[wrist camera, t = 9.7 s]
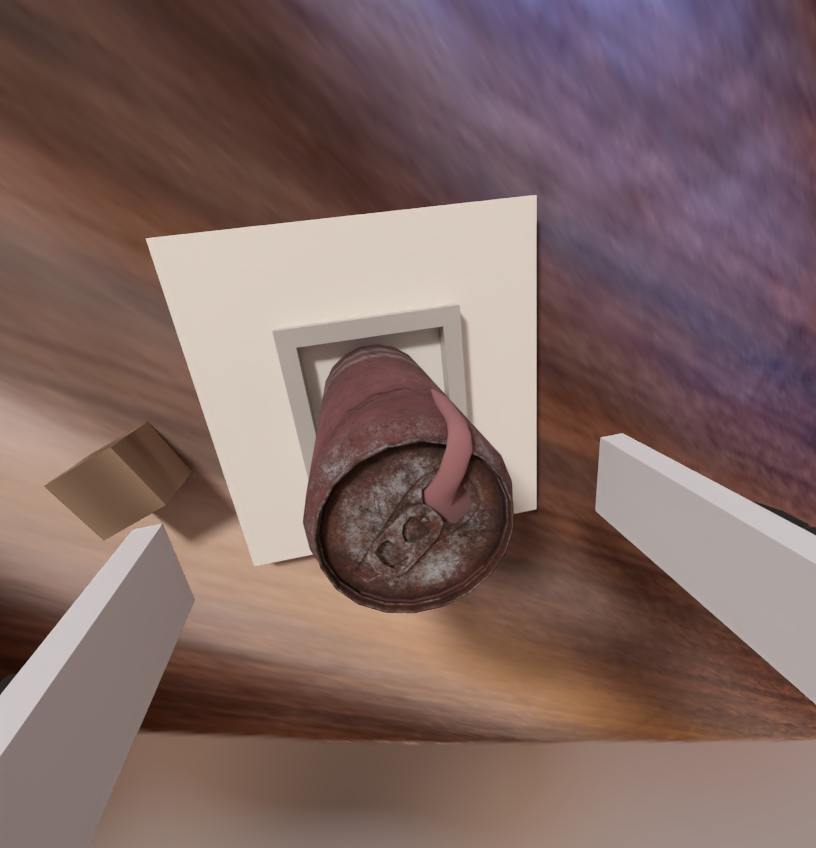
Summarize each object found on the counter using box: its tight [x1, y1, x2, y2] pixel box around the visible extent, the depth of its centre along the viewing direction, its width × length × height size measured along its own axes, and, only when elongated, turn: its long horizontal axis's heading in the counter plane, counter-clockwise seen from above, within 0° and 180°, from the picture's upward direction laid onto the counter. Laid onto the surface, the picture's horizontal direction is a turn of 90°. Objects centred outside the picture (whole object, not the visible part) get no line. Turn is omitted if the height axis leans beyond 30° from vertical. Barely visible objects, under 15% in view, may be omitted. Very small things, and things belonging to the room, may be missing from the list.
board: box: [146, 195, 537, 566], centre depth 24 cm, size 20×20×3 cm
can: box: [303, 344, 514, 613], centre depth 17 cm, size 6×6×14 cm
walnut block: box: [44, 422, 192, 540], centre depth 22 cm, size 4×4×4 cm
